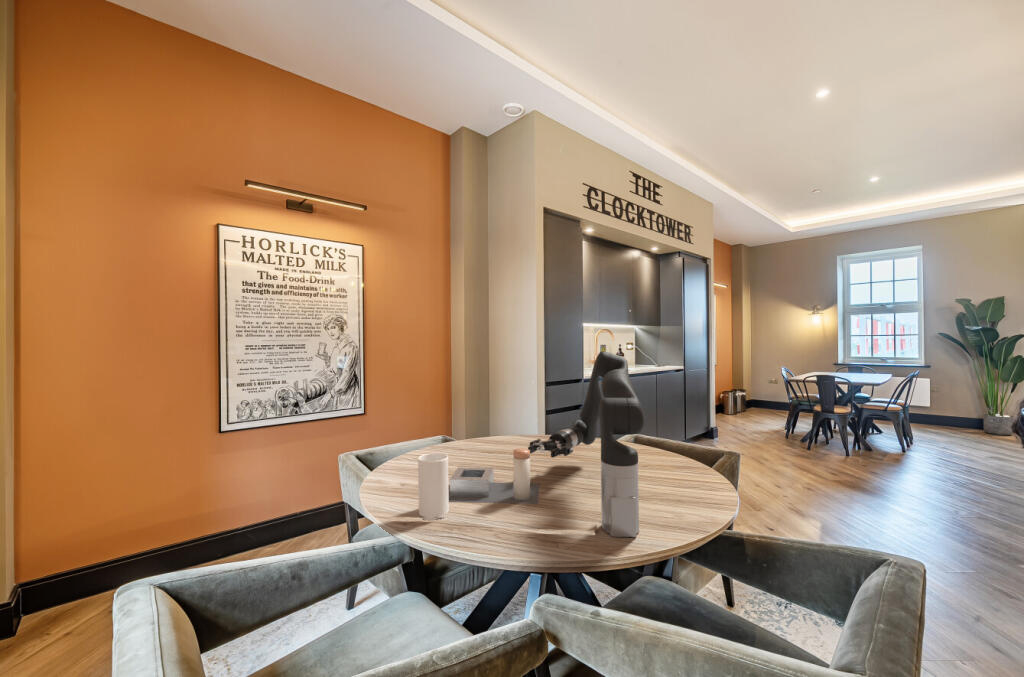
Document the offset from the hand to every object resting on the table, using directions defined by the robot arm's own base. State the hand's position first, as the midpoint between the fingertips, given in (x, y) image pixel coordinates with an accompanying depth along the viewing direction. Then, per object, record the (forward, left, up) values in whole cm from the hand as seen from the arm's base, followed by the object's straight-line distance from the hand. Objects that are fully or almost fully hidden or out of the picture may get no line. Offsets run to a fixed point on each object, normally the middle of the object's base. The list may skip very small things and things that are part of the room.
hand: (540, 452), depth 132 cm
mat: (-6, +15, -12) cm, 20 cm away
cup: (-21, +30, -12) cm, 38 cm away
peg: (-10, +6, -11) cm, 16 cm away
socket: (-4, +22, -11) cm, 24 cm away
